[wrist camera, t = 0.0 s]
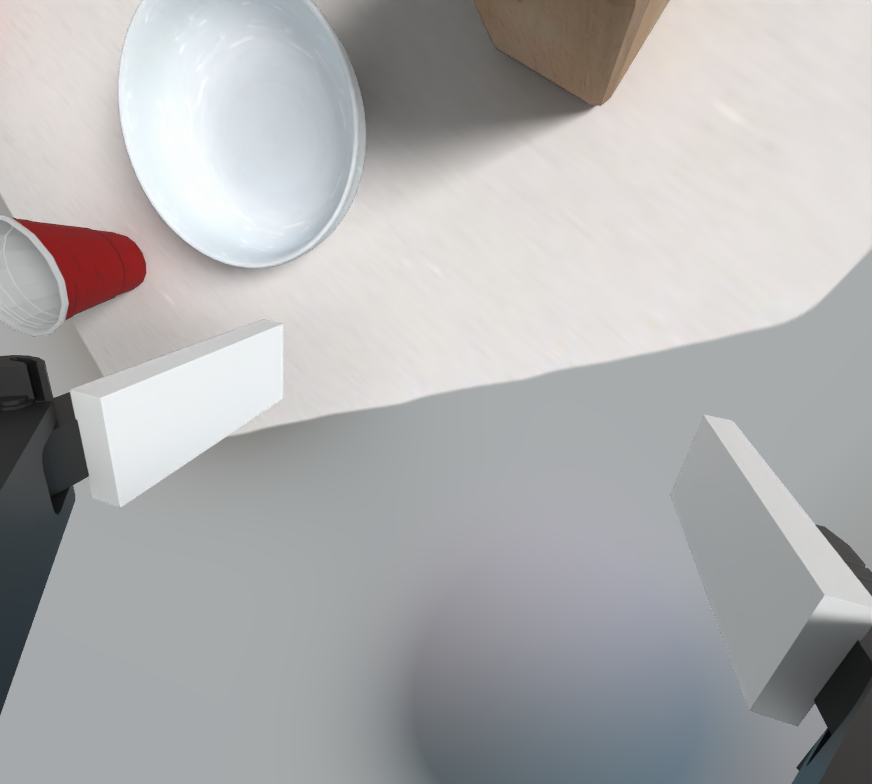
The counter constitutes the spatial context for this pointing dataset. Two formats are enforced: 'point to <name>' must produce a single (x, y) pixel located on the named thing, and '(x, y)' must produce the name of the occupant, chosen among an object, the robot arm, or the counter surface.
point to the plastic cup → (60, 272)
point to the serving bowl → (242, 124)
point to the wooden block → (573, 39)
